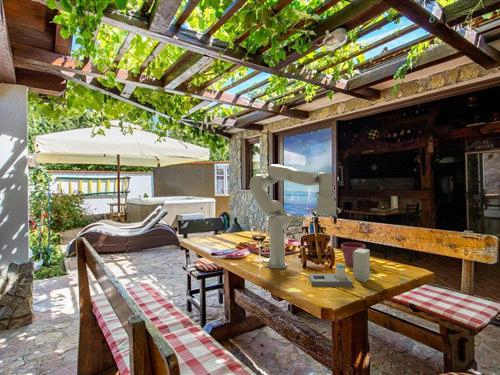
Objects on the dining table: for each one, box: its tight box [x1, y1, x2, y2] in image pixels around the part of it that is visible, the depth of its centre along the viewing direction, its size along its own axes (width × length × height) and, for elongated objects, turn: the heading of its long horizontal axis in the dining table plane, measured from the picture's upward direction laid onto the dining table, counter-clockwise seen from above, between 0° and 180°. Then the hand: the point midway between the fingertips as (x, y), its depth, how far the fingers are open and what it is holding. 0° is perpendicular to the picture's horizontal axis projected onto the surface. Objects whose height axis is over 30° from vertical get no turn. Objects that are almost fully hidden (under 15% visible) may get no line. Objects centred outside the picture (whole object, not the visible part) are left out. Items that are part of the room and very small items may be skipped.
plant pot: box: [340, 242, 366, 268], centre depth 184 cm, size 14×14×13 cm
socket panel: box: [308, 273, 354, 287], centre depth 153 cm, size 20×12×3 cm, turn 85°
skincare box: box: [352, 248, 371, 283], centre depth 158 cm, size 8×7×16 cm
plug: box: [335, 262, 346, 280], centre depth 152 cm, size 4×4×9 cm
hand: (326, 224), depth 168 cm, fingers open, 9 cm apart
